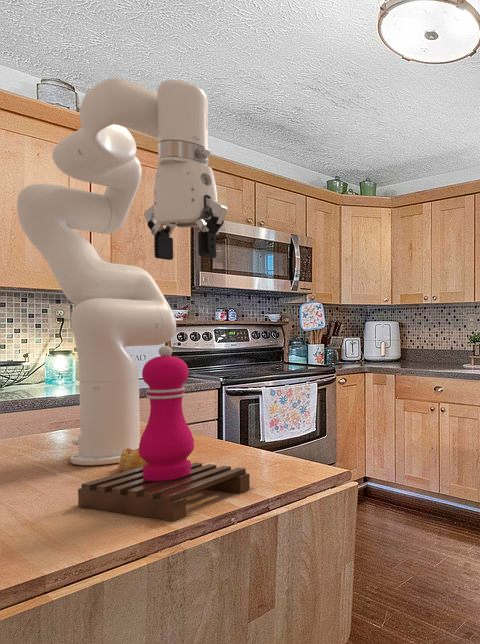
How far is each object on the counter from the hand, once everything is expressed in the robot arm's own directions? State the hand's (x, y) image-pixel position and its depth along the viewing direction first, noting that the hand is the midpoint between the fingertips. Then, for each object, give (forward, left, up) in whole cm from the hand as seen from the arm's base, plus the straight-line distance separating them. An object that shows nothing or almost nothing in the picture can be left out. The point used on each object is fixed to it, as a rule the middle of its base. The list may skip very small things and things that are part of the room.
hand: (185, 258), depth 87 cm
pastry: (-11, +1, -38) cm, 40 cm away
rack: (+7, -10, -38) cm, 40 cm away
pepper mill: (+7, -10, -35) cm, 37 cm away
